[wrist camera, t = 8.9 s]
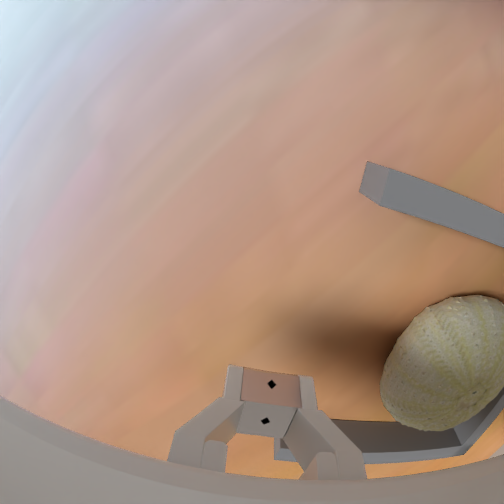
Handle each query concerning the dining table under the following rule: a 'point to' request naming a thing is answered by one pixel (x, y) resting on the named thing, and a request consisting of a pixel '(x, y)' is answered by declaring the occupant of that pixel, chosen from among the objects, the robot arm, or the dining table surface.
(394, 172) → the bay
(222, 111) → the dining table surface
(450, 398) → the sea urchin shell
